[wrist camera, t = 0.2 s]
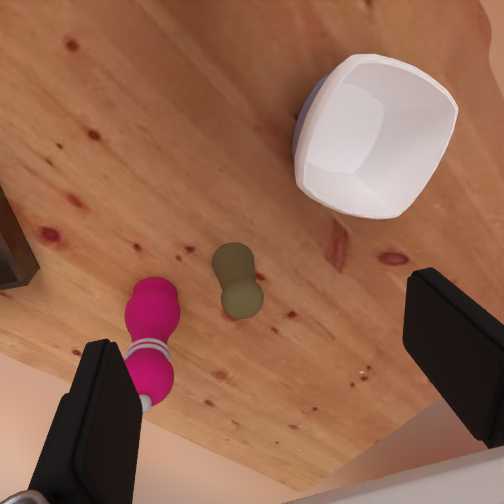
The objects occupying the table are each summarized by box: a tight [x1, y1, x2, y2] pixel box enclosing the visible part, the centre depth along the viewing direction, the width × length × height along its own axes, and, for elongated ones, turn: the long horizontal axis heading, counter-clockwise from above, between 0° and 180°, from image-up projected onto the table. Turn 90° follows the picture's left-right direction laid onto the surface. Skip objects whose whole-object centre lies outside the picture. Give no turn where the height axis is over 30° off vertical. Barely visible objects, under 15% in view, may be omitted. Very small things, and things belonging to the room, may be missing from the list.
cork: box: [212, 243, 264, 319], centre depth 47 cm, size 6×6×11 cm
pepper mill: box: [124, 277, 180, 413], centre depth 44 cm, size 7×7×20 cm
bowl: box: [292, 54, 458, 219], centre depth 41 cm, size 15×15×11 cm
